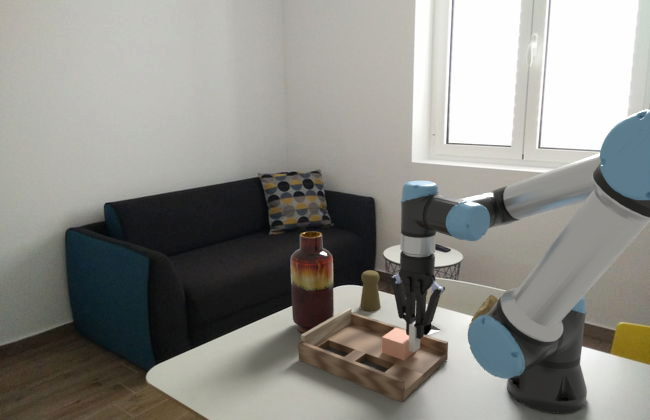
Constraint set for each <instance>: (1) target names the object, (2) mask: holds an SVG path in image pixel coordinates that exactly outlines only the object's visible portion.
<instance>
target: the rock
mask: <svg viewBox="0 0 650 420" xmlns="http://www.w3.org/2000/svg"><path fill="white" fill-rule="evenodd" d="M498 300H499V299H498V297H497V296H494V295H492V294H490V295H489V296H488V297H487V298H486V299H485V300H484V301H483V302H482V304H481V306H479V309H478V310H477V311H475V314H474V315H473V317H472V318H471V320H470V321H471V322H470V323H469V325H468V327H469V326H470V324H471V323H472V321H473V320H475V319H476V318H477V317H478V316H480V315H485V314H487V313H488V312H489V311H490V310H491V309H492V308H493V306H494V305H495V304H496V302H497V301H498Z"/></svg>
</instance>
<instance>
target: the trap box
mask: <svg viewBox="0 0 650 420" xmlns="http://www.w3.org/2000/svg"><path fill="white" fill-rule="evenodd" d="M394 328H399V329H402V330H405V331H406V328H404V327H401V326H398V325H394V324H392V323H388V322H385V321H382V320H378V319H375V318H371V317H368V316H365V315H363V314H358V313H355V312H352V308H351V307H347V308H346V309H344V310H342V311H340V312H339V313H337V314H334V316H333V317H332V318H330V319H328V320H326V321H325V322H323V323H321V324H319V325H318V326H316V327H314V328H312V329H310V330H309V331H307V332H305V333H303V334H302V333H301V335H300V340H299V341H298V342H297V344H298V347H297V349H298V361H301V362H304V363H306V364H308V365H311V366H313V367H316V368H318V369H320V370H323V371H325V372H328V373H330V374H333V375H335V376H338V377H339V378H342V379H344V380H347V381H349V382H352V383H355V384H357V385H358V386H362V387H364V388H367V389H369V390H372V391H374V392H377V393H378V394H381V395H384V396H386V397H388V398H391V399H393V400H396V401H398V402H400V403H403V402H404V400H406V399H407V398H408V397H409V396H410V395H411V394H413V392H414V391H416V390H417V388H419V387H420V386H421V385H422V384H423V383H424V382H425V381H426V380H427V379H428V378H430V377H431V376H432V375H433V374H434V373H435V372H436V371H437V370H438V369H440V367H441V366H442V365H444V364H445V362H447V360H449V359H448V357H449V356H448V355H449V352H448V351H449V341H446V340H443V339H440V338H436V337H433V336H430V335H424V336H423V337H422V338H421V339H420V348H419V349H418V350H417V351H416V352H414V353H413V354H412V355H411V356H409V357H408V358H407V359H406V360H405V361H404V360H401V359H399V358H396V357H393V356H390V355H387V354H384V353H382V337H383V336H384V335H386V334H387V333H389V332H390V331H391V330H393V329H394Z"/></svg>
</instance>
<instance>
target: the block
mask: <svg viewBox="0 0 650 420" xmlns="http://www.w3.org/2000/svg"><path fill="white" fill-rule="evenodd" d="M415 352H416V351H415ZM382 353H384V354H387V355H390V356H393V357H396V358H399V359H401V360H404V361H405V360H406V359H407V358H408V357H409V356H411V355H412V354H413V353H414V352H411V351H409V335H407V334H406V331H405V330H402V329H399V328H394V329H393V330H391V331H390V332H389V333H387V334H386V335H384V336H383V337H382Z"/></svg>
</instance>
